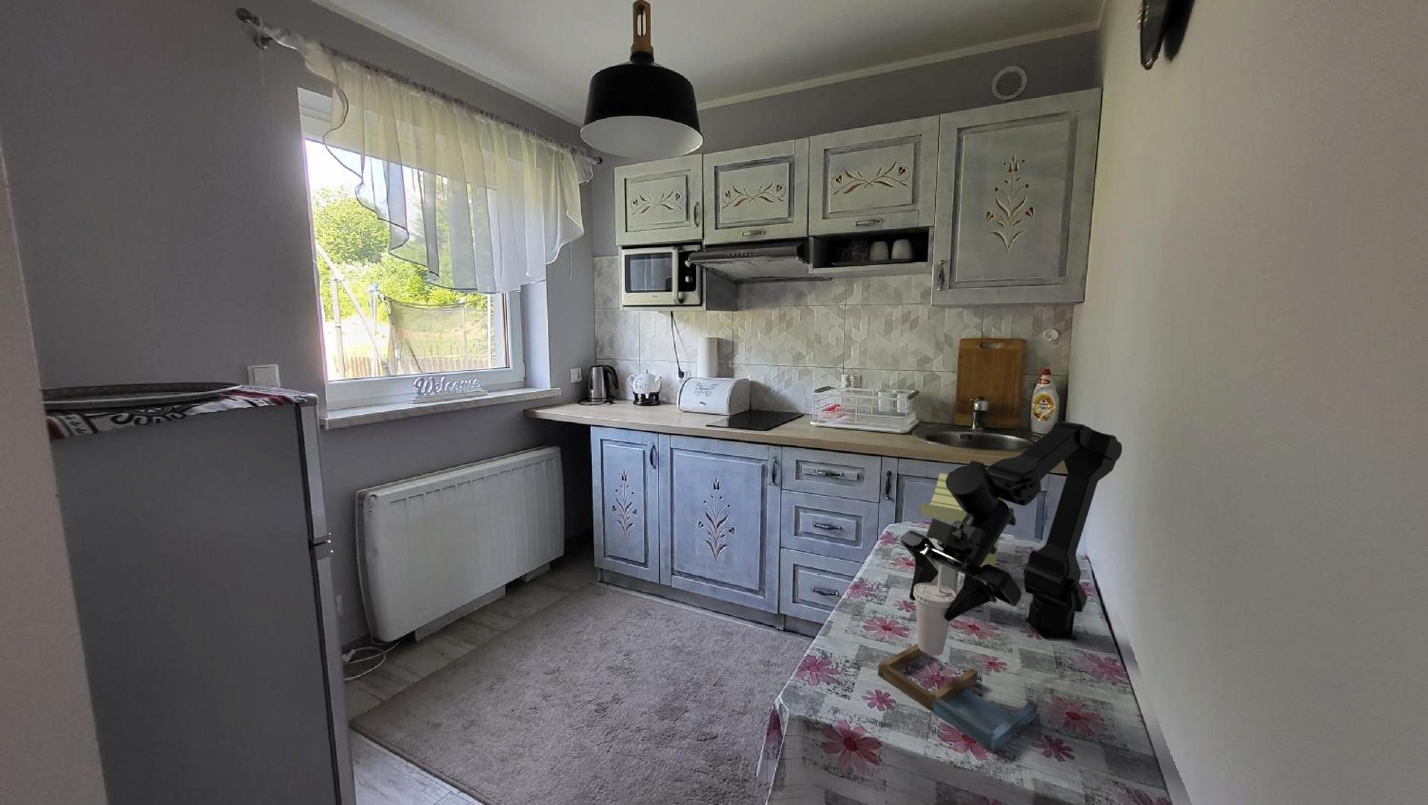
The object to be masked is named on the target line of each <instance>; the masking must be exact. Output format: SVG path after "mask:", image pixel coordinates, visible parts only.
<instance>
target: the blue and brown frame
mask: <svg viewBox="0 0 1428 805" xmlns="http://www.w3.org/2000/svg"><path fill="white" fill-rule="evenodd" d="M926 655H927V654H926V653H924V652H922V651H921V650H920V649H919V647H918V642H917V643H915V644H914V645H912V646H910V647H908V648H906V649H904V650H902V651H900V652H899V653H896V654H895V655H893V656H891V657H890V658H887V659H885V660H884V661H881V662H880V663H878V671H877V675H878V677H879V678H882V679H883V680H884V681H886V682H887V683H888V684H890V685H892V686H894V687H895V688H896V689H898V690H899V691H901V692H902V693H904V694H905V695H906V696H908V697H910V698H911V699H912V700H914V701H916V703H918V704H920V705H921V706H923V707H925V708H926V709H927V710H929V711H931V713H933V714H935V715H936V716H938V718H941V719H943V720H944V721H945V722H947V723H948V724H950V725H951V726H953V727H954V728H956V729H957V730H958V731H960V732H961V733H963V734H965V735H966V736H968V737H969V738H971V739H972V740H973V741H975V742H976V743H977V744H979V745H980V746H982V747H984V748H985V749H987V750H988V751H990V752H991V753H993V754H995V753H996V752H997V751H999V749H1000V748H1003V746H1004V745H1005V744H1007V743H1008V742H1010V740H1012V739H1013V737H1015V736H1016V735H1017V734H1018V733H1019V732H1021V731H1022V730H1023V729H1024V728H1025V727H1027V726H1028V725H1029V724H1030V723H1032V721H1034V720H1035V719H1036V718H1037V710H1038V705H1037V704H1036V703H1034V702H1032V701H1028V702H1027V703H1026V704H1025V705H1024V706H1023V707H1020V709H1018V711H1016V712H1014V713H1013V714H1012V715H1011V714H1010V713H1008V712H1006V711H1004V710H1003V709H1002V708H1000V707H997V705H994V704H992V702H990V701H988V700H986V699H984V698H982V697H981V696H979V695H978V694H976V693H974V692H972V691H971V690H970V688H971V687H973V686H975V685H976V684H977V683H978V682H977V681H978V673H979V672H978V671H977V670H975V669H973V668H970V669H969V670H966V671H965V672H964V673H962V674H961V675H959V676H958V677H956V678H954V679H953V680H952V681H949V682H948V683H947V684H945V685H943V686H942V687H940V688H939V689H937V690H935V691H934V692H933V693H932V692H930V691H928V690H927V689H926V688H924V687H923V686H921V685H919V684H917V682H915V681H913V680H912V679H910V678H909V677H907V676H906V675H904V674H902V673H900V672H899V670H901V669H902V668H904V667H906V666H908V665H910V664H912V663H913V662H916V661H917V660H919V659H920V658H922V657H924V656H926Z"/></svg>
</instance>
